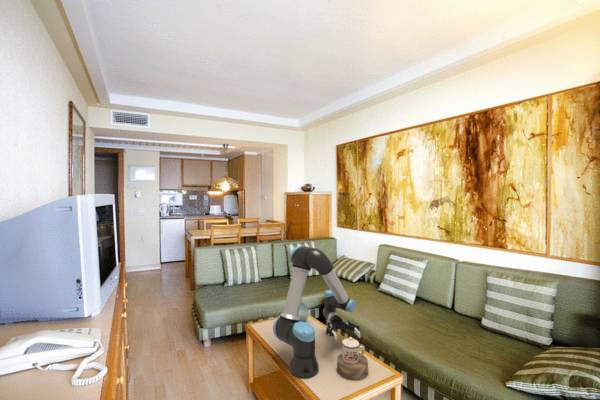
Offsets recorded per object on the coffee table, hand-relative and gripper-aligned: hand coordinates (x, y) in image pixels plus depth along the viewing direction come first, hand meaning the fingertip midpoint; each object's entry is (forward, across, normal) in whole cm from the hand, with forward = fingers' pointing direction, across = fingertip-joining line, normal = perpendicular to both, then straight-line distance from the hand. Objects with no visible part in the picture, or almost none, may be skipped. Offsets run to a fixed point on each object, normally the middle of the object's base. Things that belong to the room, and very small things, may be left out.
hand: (348, 336), depth 158 cm
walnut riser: (+7, 0, -15) cm, 17 cm away
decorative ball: (-57, +16, -15) cm, 62 cm away
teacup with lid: (+7, 0, -9) cm, 11 cm away
